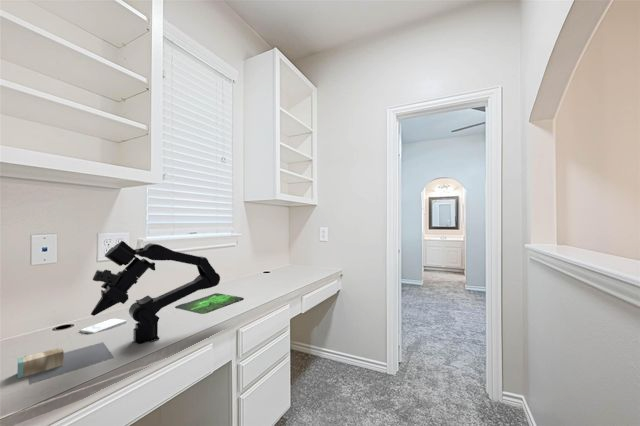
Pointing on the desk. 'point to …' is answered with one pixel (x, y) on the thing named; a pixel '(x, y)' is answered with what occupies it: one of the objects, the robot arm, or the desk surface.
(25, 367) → the birch block
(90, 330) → the external hard drive
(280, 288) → the desk surface
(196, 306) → the mouse mat
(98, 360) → the rubber mat
